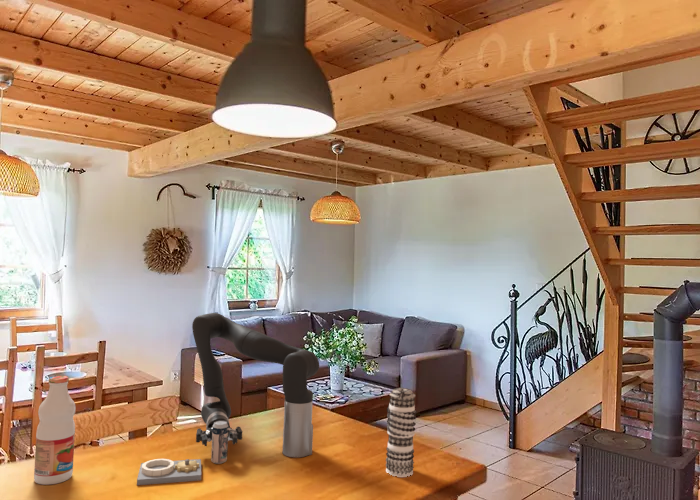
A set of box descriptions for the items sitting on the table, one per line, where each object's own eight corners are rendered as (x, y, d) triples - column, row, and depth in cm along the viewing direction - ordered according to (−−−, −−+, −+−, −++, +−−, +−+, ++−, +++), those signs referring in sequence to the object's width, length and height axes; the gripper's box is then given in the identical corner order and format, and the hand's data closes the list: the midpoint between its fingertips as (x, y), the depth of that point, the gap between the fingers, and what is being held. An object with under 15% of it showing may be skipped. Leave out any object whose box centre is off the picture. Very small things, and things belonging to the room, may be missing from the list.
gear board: (200, 464, 159) (201, 451, 159) (201, 480, 147) (201, 467, 148) (141, 468, 154) (141, 455, 154) (136, 485, 143) (137, 471, 143)
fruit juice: (40, 472, 148) (46, 373, 149) (76, 470, 150) (81, 373, 151) (28, 486, 139) (34, 381, 140) (66, 484, 141) (72, 381, 142)
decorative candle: (394, 479, 153) (398, 394, 154) (378, 468, 161) (382, 387, 162) (420, 475, 157) (423, 392, 158) (403, 464, 166) (406, 385, 166)
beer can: (222, 465, 159) (224, 425, 159) (208, 463, 160) (210, 424, 160) (229, 459, 163) (231, 421, 164) (215, 457, 164) (217, 419, 165)
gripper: (196, 415, 173) (196, 431, 158) (239, 413, 177) (244, 428, 162) (195, 438, 173) (195, 456, 158) (238, 435, 177) (243, 452, 162)
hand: (220, 442), depth 160 cm, fingers open, 8 cm apart
